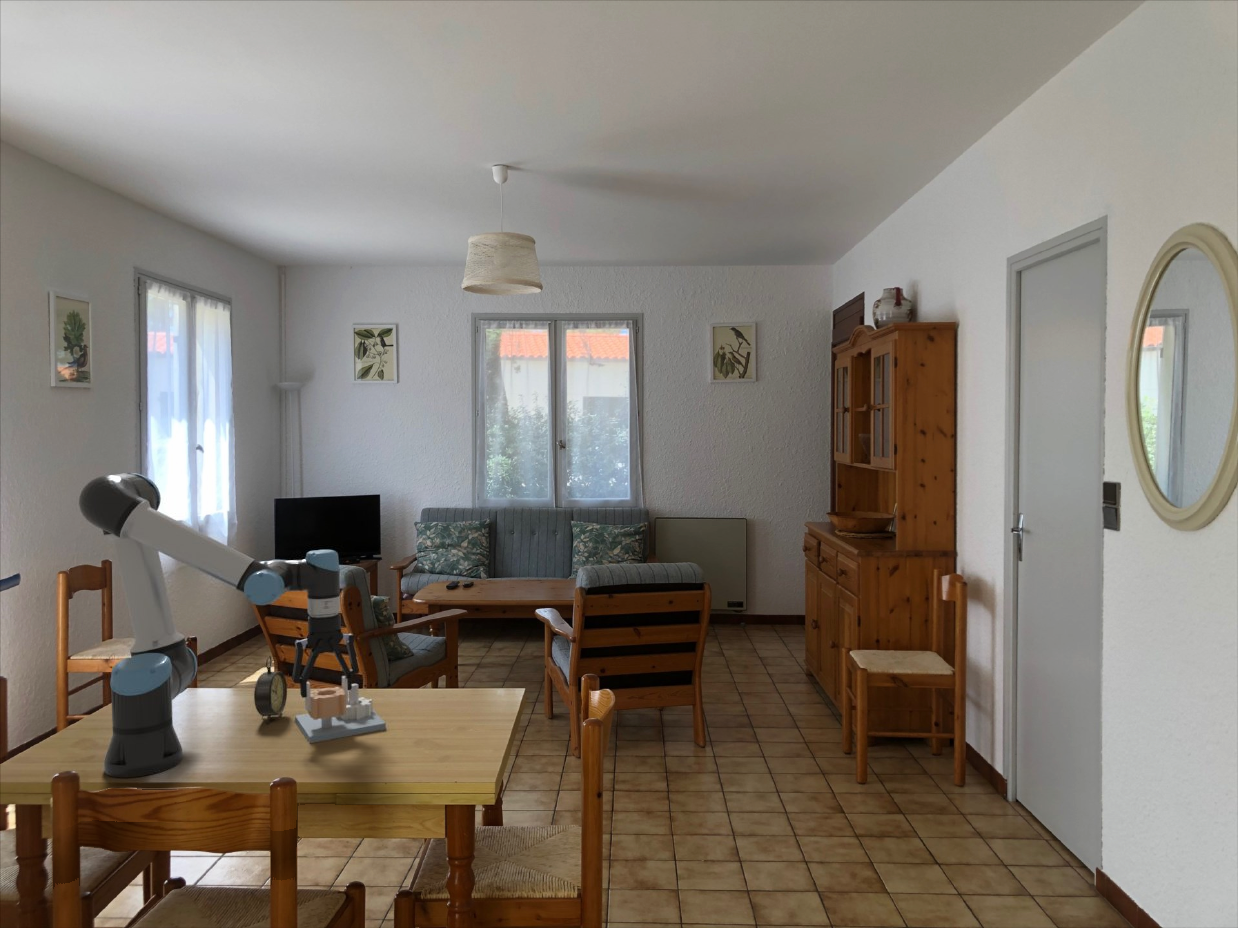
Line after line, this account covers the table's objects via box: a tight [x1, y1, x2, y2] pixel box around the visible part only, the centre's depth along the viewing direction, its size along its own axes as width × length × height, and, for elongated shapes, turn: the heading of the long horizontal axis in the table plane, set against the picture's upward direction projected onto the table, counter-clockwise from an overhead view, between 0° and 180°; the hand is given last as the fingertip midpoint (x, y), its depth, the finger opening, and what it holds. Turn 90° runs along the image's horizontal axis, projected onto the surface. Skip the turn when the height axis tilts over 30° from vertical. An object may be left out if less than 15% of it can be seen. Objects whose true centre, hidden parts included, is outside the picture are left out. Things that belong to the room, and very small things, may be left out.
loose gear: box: [307, 686, 346, 720], centre depth 209 cm, size 8×8×5 cm
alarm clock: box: [253, 655, 288, 725], centre depth 220 cm, size 11×5×16 cm, turn 0°
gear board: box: [294, 683, 387, 744], centre depth 214 cm, size 18×18×9 cm
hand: (326, 706), depth 209 cm, fingers closed on loose gear, 8 cm apart
